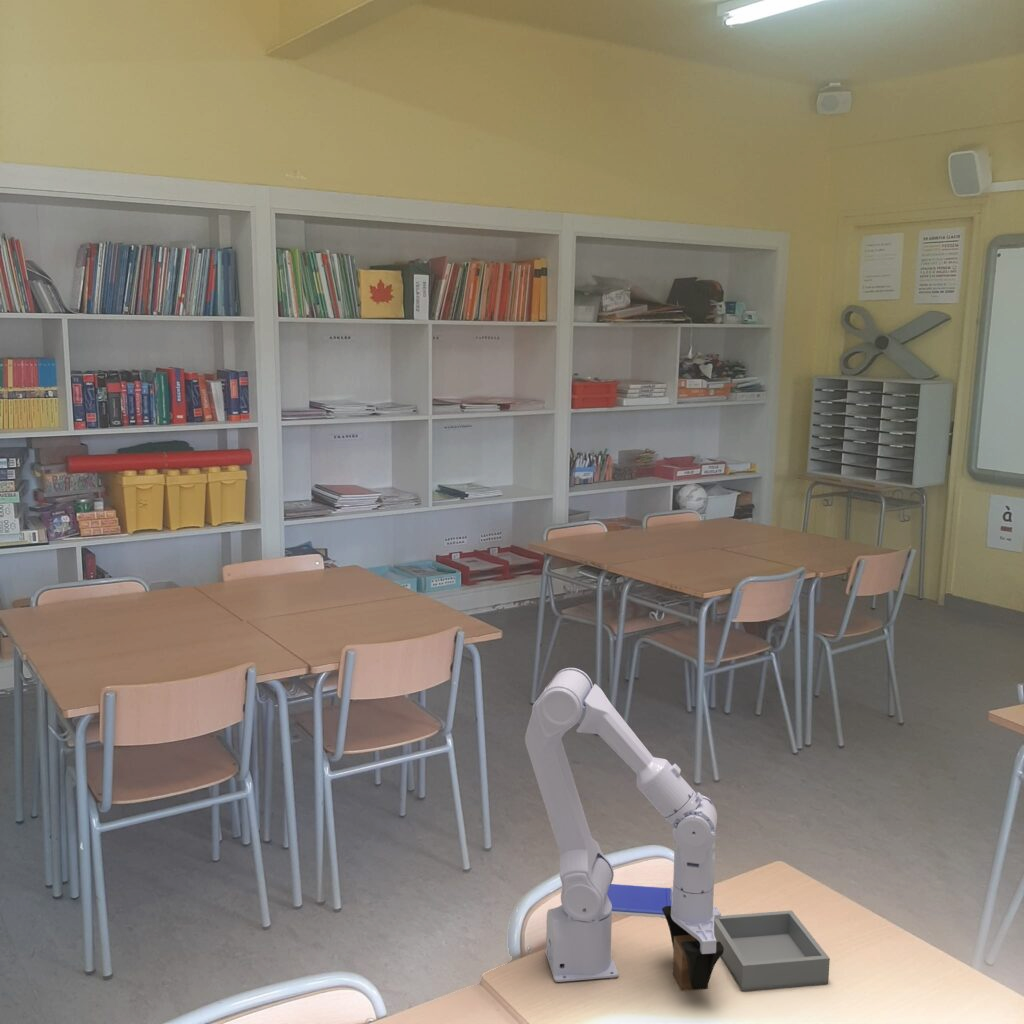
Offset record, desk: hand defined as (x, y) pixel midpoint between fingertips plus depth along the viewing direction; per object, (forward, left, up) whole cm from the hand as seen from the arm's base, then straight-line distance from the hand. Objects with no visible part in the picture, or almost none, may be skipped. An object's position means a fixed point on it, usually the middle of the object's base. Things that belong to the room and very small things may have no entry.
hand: (690, 971), depth 146 cm
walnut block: (0, 0, -2) cm, 2 cm away
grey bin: (+13, +3, -1) cm, 13 cm away
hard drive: (-2, +22, -2) cm, 22 cm away
